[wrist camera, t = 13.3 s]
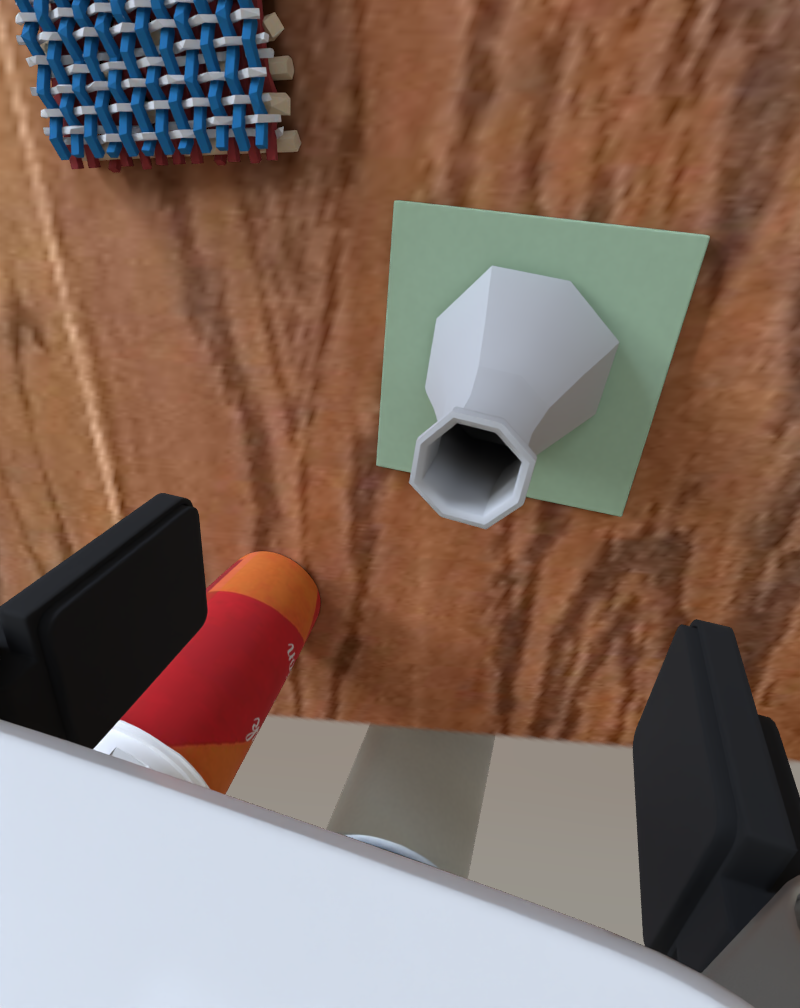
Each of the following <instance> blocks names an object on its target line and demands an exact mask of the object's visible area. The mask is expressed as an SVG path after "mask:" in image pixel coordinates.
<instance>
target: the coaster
mask: <svg viewBox="0 0 800 1008" xmlns="http://www.w3.org/2000/svg"><path fill="white" fill-rule="evenodd" d="M709 239H710V237H709V236H708V235H702V234H693V233H684V232H676V231H667V230H658V229H649V228H640V227H631V226H623V225H614V224H605V223H596V222H587V221H578V220H570V219H561V218H552V217H543V216H534V215H525V214H517V213H508V212H499V211H490V210H481V209H472V208H463V207H455V206H446V205H437V204H428V203H419V202H410V201H402V200H397V201H394V210H393V224H392V239H391V254H390V269H389V284H388V299H387V314H386V329H385V344H384V359H383V373H382V388H381V403H380V418H379V433H378V448H377V463H376V465H377V466H381V467H386V468H391V469H395V470H400V471H405V472H410V473H411V469H412V463H413V457H414V451H415V446H416V440H417V438H418V437H419V436H420V435H421V434H422V433H424V432H425V431H426V430H427V429H428V428H430V427H431V426H432V425H433V424H435V423H436V422H437V418H436V414H435V411H434V408H433V406H432V404H431V402H430V399H429V397H428V395H427V393H426V390H425V384H426V378H427V372H428V366H429V360H430V354H431V348H432V342H433V336H434V330H435V324H436V318H438V317H439V316H440V315H441V314H442V313H443V312H444V311H445V310H446V309H447V308H448V307H449V306H450V305H451V304H452V303H453V302H454V301H455V300H456V299H458V298H459V297H460V296H461V295H462V294H463V293H464V292H465V291H466V290H467V289H468V288H469V287H470V286H471V285H472V284H473V283H474V282H475V281H476V280H477V279H479V278H480V277H481V276H482V275H483V274H484V273H485V272H486V271H487V270H488V269H489V268H490V267H491V266H497V267H502V268H507V269H512V270H517V271H522V272H527V273H532V274H538V275H543V276H548V277H553V278H558V279H563V280H568V281H571V282H572V284H573V285H574V286H575V287H576V289H577V290H578V291H579V292H580V294H581V295H582V296H583V297H584V299H585V300H586V301H587V302H588V304H589V305H590V306H591V307H592V308H593V310H594V311H595V312H596V313H597V315H598V316H599V317H600V318H601V320H602V321H603V322H604V323H605V325H606V326H607V327H608V328H609V330H610V331H611V332H612V333H613V335H614V336H615V337H616V338H617V340H618V341H619V345H618V348H617V351H616V354H615V357H614V360H613V363H612V366H611V369H610V372H609V375H608V378H607V381H606V384H605V387H604V390H603V393H602V396H601V399H600V402H599V405H598V408H597V411H596V414H595V415H594V416H592V417H591V418H589V419H588V420H586V421H585V422H584V423H582V424H581V425H579V426H578V427H576V428H575V429H574V430H572V431H571V432H569V433H568V434H566V435H565V436H564V437H562V438H561V439H559V440H558V441H556V442H555V443H554V444H552V445H551V446H549V447H548V448H546V449H545V450H544V451H542V452H541V453H539V454H538V455H536V456H537V460H536V463H535V467H534V470H533V474H532V477H531V481H530V484H529V488H528V491H527V494H526V497H529V498H534V499H538V500H543V501H548V502H553V503H558V504H562V505H567V506H572V507H577V508H581V509H586V510H591V511H596V512H600V513H605V514H610V515H615V516H620V517H621V516H622V514H623V511H624V508H625V505H626V502H627V499H628V495H629V492H630V489H631V486H632V483H633V480H634V476H635V473H636V470H637V467H638V464H639V461H640V457H641V454H642V451H643V448H644V445H645V442H646V439H647V435H648V432H649V429H650V426H651V423H652V420H653V416H654V413H655V410H656V407H657V404H658V401H659V397H660V394H661V391H662V388H663V385H664V382H665V378H666V375H667V372H668V369H669V366H670V363H671V359H672V356H673V353H674V350H675V347H676V344H677V341H678V337H679V334H680V331H681V328H682V325H683V322H684V318H685V315H686V312H687V309H688V306H689V303H690V299H691V296H692V293H693V290H694V287H695V284H696V280H697V277H698V274H699V271H700V268H701V265H702V261H703V258H704V255H705V252H706V249H707V246H708V243H709Z"/></svg>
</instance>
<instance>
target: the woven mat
mask: <svg viewBox="0 0 800 1008" xmlns="http://www.w3.org/2000/svg"><path fill="white" fill-rule="evenodd" d="M15 2H16V5H17V6H18V7H19V9H20V11H21V13H18V14H17V15H16V23H17V24H19V25H22V24H24V23H25V24H24V27H23V31H22V34H21V36H18V35H16V37H17V41H18V44H19V45H26V46H27V47H28V49H29V51H30V52H31V54H32V57H29V58H26V60H27V62H28V64H29V66H30V67H31V66H33V65H36V64H38V74H37V88H35V87H30V90H31V93H32V96H39V97H40V99H41V100H42V102H43V103H44V105H45V106H46V107H47V109H43V110H41V117H44V118H48V117H50V128H43V129H44V134H45V135H46V136H50V139H49V140H50V141H51V143H52V145H53V146H54V148H55V150H56V151H57V153H58V155H59V156H60V158H61V160H69V159H70V163H71V167H72V169H81V168H84V166H83V162H82V161H87V162H88V166H89V168H98V167H101V166H100V161H99V160H110V161H109V168H108V169H109V170H111V171H112V172H120V170H121V166H133V160H132V159H138V158H140V161H141V164H142V168H143V170H144V169H152V164H151V160H150V158H155V160H156V165H168V161H167V157H172V158H173V164H186V162H185V156H191V162H192V164H200V163H204V162H203V155H215V157H214V161H215V162H216V164H217V165H226V160H227V156H228V162H240V154H249V158H250V162H251V163H260V162H261V160H262V158H261V153H266V156H267V160H278V152H298V149H299V147H300V145H301V141H300V138H299V135H298V132H297V130H291V131H283V128H284V126H283V127H280V128H278V129H277V123H278V122H281V115H290V98H289V96H288V95H287V94H286V93H277V90H276V88H275V85H274V82H273V81H276V80H292V78H293V74H294V66H293V62H292V58H290V57H289V56H279V57H274V50H273V49H272V48H267V44H266V42H268V41H274V40H275V39H276V38H277V37H278V36H279V34H280V33H281V32H282V31H283V30H284V27H283V25H282V24H281V22H280V20H279V18H278V17H277V15H276V13H275V12H274V13H271V14H269V15H266V16H263V6H262V0H15ZM113 16H114V22H113V27H111V28H110V25H111V22H112V18H113ZM150 17H151V19H152V22H150V23H149V20H150ZM39 28H40V30H41V33H40V34H38V35H37V33H38V30H39ZM73 30H74V32H73ZM214 48H216V51H217V52H215V49H214ZM185 50H186V51H185ZM102 60H103V62H104V63H103V64H99V61H102ZM50 79H51V80H52V88H50ZM250 82H251V83H250ZM262 92H264V93H262ZM111 93H112V97H111V105H109V100H110V96H111ZM53 96H54V98H53ZM146 96H147V98H148V100H149V102H145V97H146ZM73 107H74V108H73ZM153 123H154V128H153V126H152V124H153ZM206 127H208V128H209V129H206ZM276 129H277V130H276ZM97 134H103V135H99V136H97ZM63 135H64V137H63Z"/></svg>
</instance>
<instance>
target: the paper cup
mask: <svg viewBox="0 0 800 1008" xmlns="http://www.w3.org/2000/svg"><path fill="white" fill-rule="evenodd" d="M206 597H207V607H208V613H207V618H206V621H205V623H204V625H203V626H202V628H201V629H200V630H199V631H198V632H197V633H196V635H195V636H194V637H193V638H192V639H191V640H190V641H189V642H188V644H187V645H186V646H185V647H184V648H183V649H182V650H181V651H180V653H179V654H178V655H177V656H176V657H175V658H174V659H173V660H172V662H171V663H170V664H169V665H168V666H167V667H166V668H165V669H164V671H163V672H162V673H161V674H160V675H159V676H158V677H157V678H156V680H155V681H154V682H153V683H152V684H151V685H150V686H149V687H148V689H147V690H146V691H145V692H144V693H143V694H142V695H141V696H140V697H139V699H138V700H137V701H136V702H135V703H134V704H133V705H132V706H131V708H130V709H129V710H128V711H127V712H126V713H125V714H124V715H123V717H122V718H121V719H120V720H119V721H118V722H117V723H116V724H115V726H114V727H113V728H112V729H111V730H110V731H109V732H108V733H107V735H106V736H105V737H104V738H103V739H102V740H101V741H100V742H99V744H98V745H97V746H96V747H95V748H94V749H93V750H96V751H99V752H102V753H105V754H108V755H111V756H114V757H117V758H120V759H123V760H126V761H129V762H132V763H134V764H137V765H140V766H143V767H146V768H149V769H152V770H155V771H158V772H161V773H164V774H167V775H170V776H173V777H176V778H179V779H182V780H185V781H188V782H190V783H193V784H196V785H199V786H202V787H205V788H208V789H211V790H214V791H217V792H219V793H222V794H226V792H227V790H228V788H229V786H230V784H231V783H232V781H233V779H234V777H235V775H236V773H237V771H238V769H239V767H240V765H241V764H242V762H243V760H244V758H245V756H246V754H247V752H248V750H249V748H250V746H251V745H252V743H253V741H254V739H255V737H256V735H257V733H258V732H259V729H260V728H261V726H262V724H263V722H264V720H265V718H266V717H267V715H268V713H269V711H270V709H271V707H272V705H273V703H274V701H275V700H276V698H277V696H278V694H279V692H280V690H281V688H282V686H283V684H284V682H285V681H286V679H287V677H288V675H289V673H290V671H291V669H292V667H293V665H294V663H295V661H296V659H297V658H298V656H299V654H300V652H301V650H302V648H303V646H304V644H305V642H306V640H307V638H308V636H309V634H310V632H311V630H312V628H313V626H314V624H315V622H316V619H317V617H318V615H319V611H320V606H321V601H320V595H319V591H318V589H317V586H316V584H315V583H314V581H313V579H312V578H311V577H310V575H309V574H308V573H307V572H306V571H305V570H304V569H303V568H302V567H301V566H300V565H298V564H297V563H296V562H294V561H293V560H291V559H289V558H287V557H285V556H283V555H280V554H277V553H273V552H266V551H259V552H253V553H250V554H247V555H245V556H244V557H242V558H241V559H239V560H238V561H237V562H236V563H234V564H233V565H232V566H231V567H230V568H229V569H227V570H226V571H225V572H224V573H223V574H222V575H221V576H220V577H218V578H217V579H216V580H215V581H214V582H213V583H212V584H211V585H210V586H209V587H207V588H206Z"/></svg>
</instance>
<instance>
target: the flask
mask: <svg viewBox="0 0 800 1008" xmlns="http://www.w3.org/2000/svg"><path fill="white" fill-rule="evenodd" d="M618 345H619V341H618V340H617V338H616V337H615V336H614V335H613V333H612V332H611V331H610V330H609V328H608V327H607V326H606V325H605V323H604V322H603V321H602V320H601V318H600V317H599V316H598V315H597V313H596V312H595V311H594V310H593V308H592V307H591V306H590V305H589V304H588V302H587V301H586V300H585V299H584V297H583V296H582V295H581V294H580V292H579V291H578V290H577V289H576V287H575V286H574V285H573V284H572V282H571V281H568V280H563V279H558V278H553V277H548V276H543V275H538V274H532V273H527V272H522V271H517V270H512V269H507V268H502V267H497V266H491V267H490V268H489V269H488V270H487V271H486V272H485V273H484V274H483V275H482V276H481V277H480V278H479V279H477V280H476V281H475V282H474V283H473V284H472V285H471V286H470V287H469V288H468V289H467V290H466V291H465V292H464V293H463V294H462V295H461V296H460V297H459V298H458V299H456V300H455V301H454V302H453V303H452V304H451V305H450V306H449V307H448V308H447V309H446V310H445V311H444V312H443V313H442V314H441V315H440V316H439V317H438V318H436V324H435V330H434V336H433V342H432V348H431V354H430V360H429V366H428V372H427V378H426V384H425V390H426V393H427V395H428V397H429V399H430V402H431V404H432V406H433V408H434V411H435V414H436V418H437V422H436V423H435V424H433V425H432V426H431V427H430V428H428V429H427V430H426V431H425V432H424V433H422V434H421V435H420V436H419V437H418V438H417V440H416V446H415V451H414V457H413V463H412V469H411V475H410V481H409V483H410V484H411V485H412V487H413V488H414V489H415V490H416V491H417V492H418V493H419V494H420V495H421V496H422V497H423V498H424V499H425V500H426V501H427V503H428V504H429V505H430V506H431V507H432V508H433V509H434V510H435V511H436V512H437V513H438V514H439V515H440V516H441V517H444V518H448V519H451V520H455V521H458V522H462V523H466V524H469V525H473V526H476V527H480V528H484V529H487V528H489V527H490V526H492V525H493V524H495V523H496V522H498V521H499V520H501V519H502V518H504V517H505V516H507V515H508V514H510V513H511V512H513V511H515V510H516V509H518V508H519V507H521V506H522V505H523V504H524V501H525V498H526V494H527V491H528V488H529V484H530V481H531V477H532V474H533V470H534V467H535V463H536V460H537V456H536V455H538V454H539V453H541V452H542V451H544V450H545V449H546V448H548V447H549V446H551V445H552V444H554V443H555V442H556V441H558V440H559V439H561V438H562V437H564V436H565V435H566V434H568V433H569V432H571V431H572V430H574V429H575V428H576V427H578V426H579V425H581V424H582V423H584V422H585V421H586V420H588V419H589V418H591V417H592V416H594V415H595V414H596V411H597V408H598V405H599V402H600V399H601V396H602V393H603V390H604V387H605V384H606V381H607V378H608V375H609V372H610V369H611V366H612V363H613V360H614V357H615V354H616V351H617V348H618Z"/></svg>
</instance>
